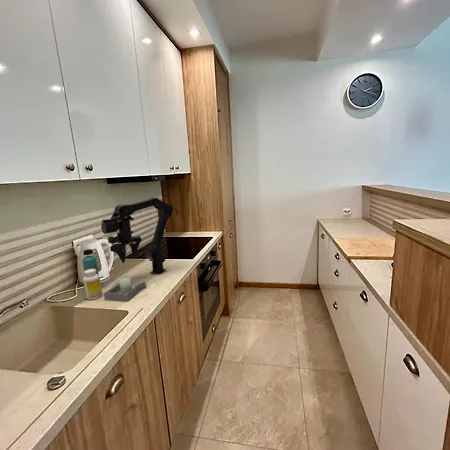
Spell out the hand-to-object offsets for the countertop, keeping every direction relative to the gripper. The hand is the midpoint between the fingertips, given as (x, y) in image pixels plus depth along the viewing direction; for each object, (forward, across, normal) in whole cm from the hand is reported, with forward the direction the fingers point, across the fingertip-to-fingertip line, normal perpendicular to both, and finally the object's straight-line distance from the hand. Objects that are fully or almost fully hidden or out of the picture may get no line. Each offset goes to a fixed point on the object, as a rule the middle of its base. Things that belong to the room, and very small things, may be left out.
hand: (128, 259), depth 133 cm
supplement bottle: (+12, +18, -8) cm, 23 cm away
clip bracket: (+12, +13, +5) cm, 18 cm away
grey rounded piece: (+12, +12, +5) cm, 18 cm away
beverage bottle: (+12, +10, -15) cm, 22 cm away
